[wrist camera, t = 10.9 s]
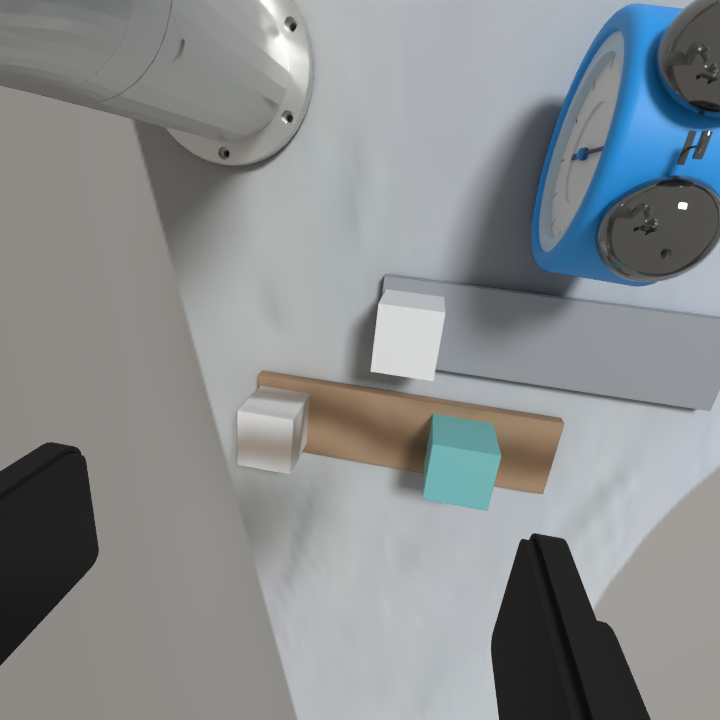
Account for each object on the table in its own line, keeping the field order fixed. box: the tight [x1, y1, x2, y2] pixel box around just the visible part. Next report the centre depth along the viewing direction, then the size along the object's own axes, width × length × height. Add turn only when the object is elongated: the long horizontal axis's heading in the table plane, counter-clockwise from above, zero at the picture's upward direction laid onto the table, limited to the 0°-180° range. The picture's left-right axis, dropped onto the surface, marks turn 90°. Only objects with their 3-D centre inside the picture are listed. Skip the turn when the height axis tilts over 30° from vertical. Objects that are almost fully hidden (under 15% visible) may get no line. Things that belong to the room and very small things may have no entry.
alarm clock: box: [531, 0, 720, 286], centre depth 24 cm, size 13×6×15 cm, turn 171°
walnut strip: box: [237, 371, 564, 494], centre depth 37 cm, size 7×26×6 cm, turn 84°
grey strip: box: [370, 274, 720, 411], centre depth 32 cm, size 7×26×6 cm, turn 84°
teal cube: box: [423, 414, 501, 511], centre depth 36 cm, size 5×5×5 cm
